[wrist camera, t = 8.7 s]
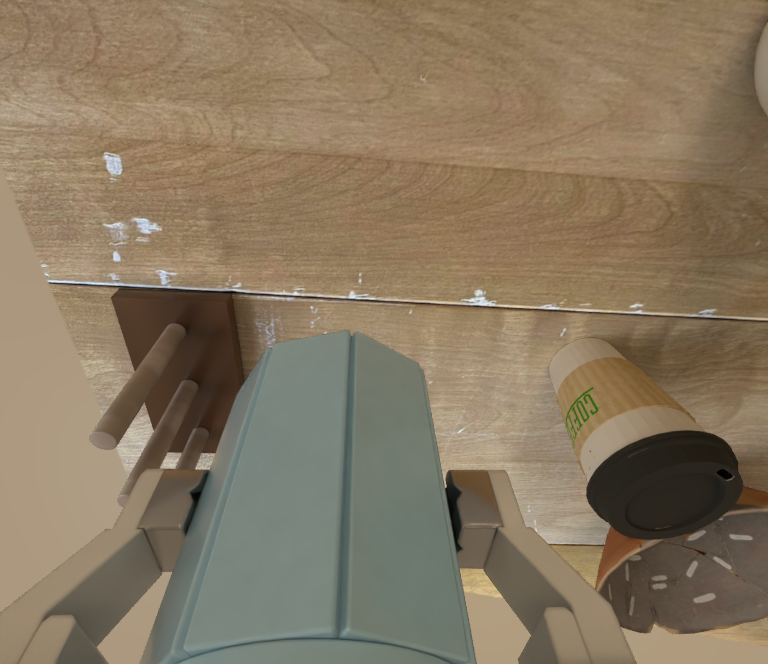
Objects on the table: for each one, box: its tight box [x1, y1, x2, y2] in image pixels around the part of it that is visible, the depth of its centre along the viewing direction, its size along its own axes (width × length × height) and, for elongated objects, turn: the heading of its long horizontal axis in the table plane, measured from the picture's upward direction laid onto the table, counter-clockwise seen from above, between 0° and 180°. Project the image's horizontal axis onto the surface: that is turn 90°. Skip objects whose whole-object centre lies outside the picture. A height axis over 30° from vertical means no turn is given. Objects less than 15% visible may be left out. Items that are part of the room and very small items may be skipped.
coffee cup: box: [549, 338, 743, 540], centre depth 35 cm, size 10×10×15 cm
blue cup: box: [139, 330, 477, 664], centre depth 10 cm, size 6×6×8 cm
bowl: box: [595, 486, 768, 634], centre depth 49 cm, size 25×25×10 cm
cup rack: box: [89, 289, 245, 507], centre depth 35 cm, size 9×18×14 cm, turn 176°
